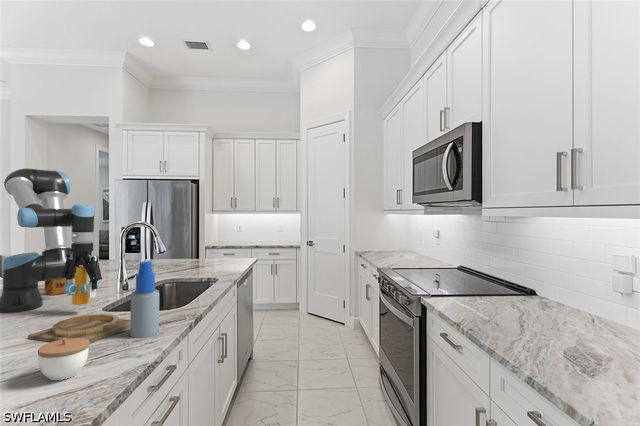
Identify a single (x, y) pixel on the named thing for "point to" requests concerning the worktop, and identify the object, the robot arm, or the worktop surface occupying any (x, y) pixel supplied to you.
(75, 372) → the lidded jar
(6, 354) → the worktop surface
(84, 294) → the cylinder
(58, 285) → the coffee package
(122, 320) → the seat plate
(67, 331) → the tan flat ring
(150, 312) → the spray bottle
